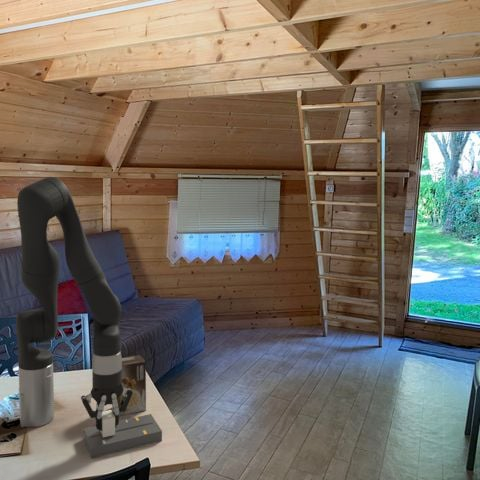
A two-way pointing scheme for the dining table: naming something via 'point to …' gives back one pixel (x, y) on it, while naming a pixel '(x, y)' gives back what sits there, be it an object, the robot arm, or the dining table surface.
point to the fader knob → (108, 423)
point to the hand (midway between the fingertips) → (107, 427)
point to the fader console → (123, 436)
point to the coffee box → (134, 383)
